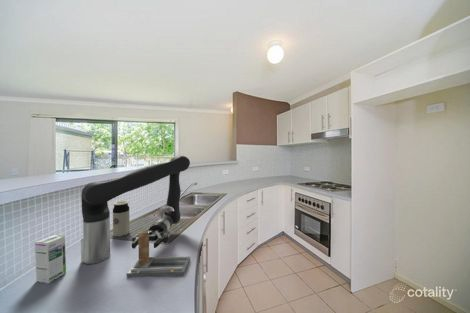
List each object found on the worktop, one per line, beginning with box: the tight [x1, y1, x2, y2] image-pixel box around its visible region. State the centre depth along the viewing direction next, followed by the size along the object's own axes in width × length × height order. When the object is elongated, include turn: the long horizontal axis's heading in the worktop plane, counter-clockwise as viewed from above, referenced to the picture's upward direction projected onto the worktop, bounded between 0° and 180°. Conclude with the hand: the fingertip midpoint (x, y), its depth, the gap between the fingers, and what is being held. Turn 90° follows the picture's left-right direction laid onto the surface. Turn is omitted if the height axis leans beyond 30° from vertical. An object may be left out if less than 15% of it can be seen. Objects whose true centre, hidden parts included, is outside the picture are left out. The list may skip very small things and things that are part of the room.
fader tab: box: [134, 230, 155, 268], centre depth 71 cm, size 5×6×13 cm
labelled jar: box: [112, 200, 131, 237], centre depth 102 cm, size 8×8×18 cm
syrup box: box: [34, 234, 67, 284], centre depth 66 cm, size 6×6×14 cm
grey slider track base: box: [126, 255, 191, 278], centre depth 71 cm, size 21×10×2 cm, turn 92°
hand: (143, 245), depth 71 cm, fingers open, 8 cm apart
